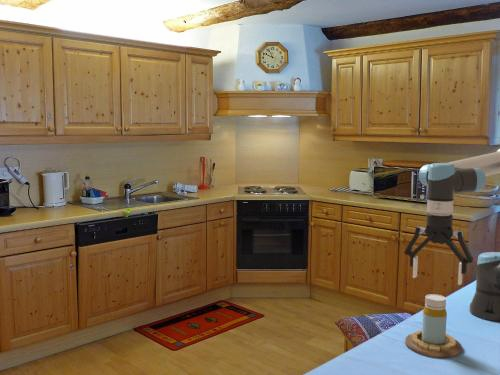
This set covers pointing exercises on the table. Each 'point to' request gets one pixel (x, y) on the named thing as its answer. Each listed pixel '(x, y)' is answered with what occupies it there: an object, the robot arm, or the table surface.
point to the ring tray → (433, 354)
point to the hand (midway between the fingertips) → (436, 280)
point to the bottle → (434, 320)
